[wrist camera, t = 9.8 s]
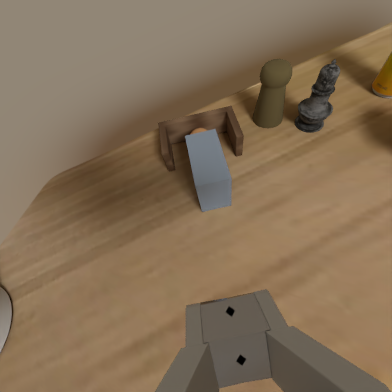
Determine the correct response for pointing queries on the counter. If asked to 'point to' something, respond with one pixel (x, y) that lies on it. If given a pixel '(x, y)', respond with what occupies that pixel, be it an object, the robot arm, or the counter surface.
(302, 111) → the grey chess bishop
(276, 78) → the olive pawn
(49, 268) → the counter surface
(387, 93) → the beer can
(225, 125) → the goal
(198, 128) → the ball
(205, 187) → the block
